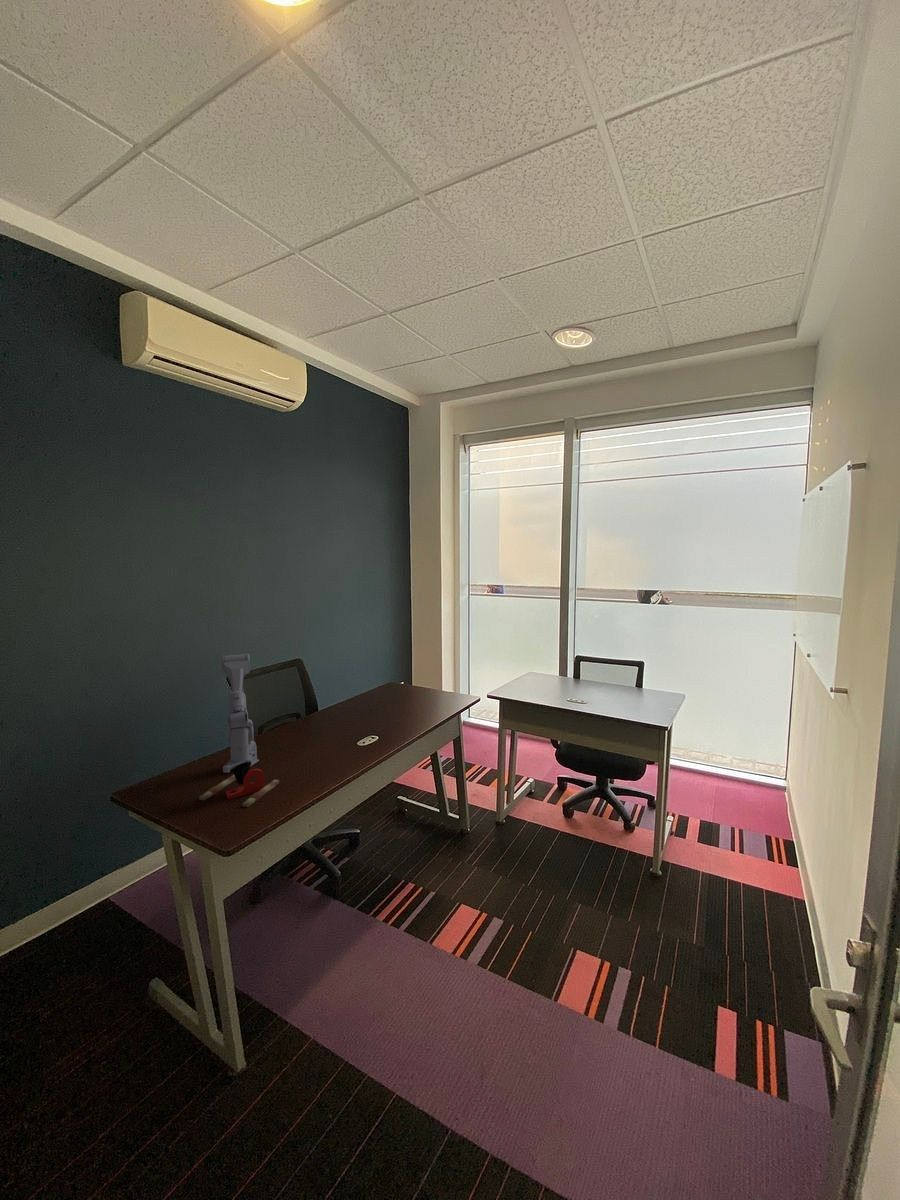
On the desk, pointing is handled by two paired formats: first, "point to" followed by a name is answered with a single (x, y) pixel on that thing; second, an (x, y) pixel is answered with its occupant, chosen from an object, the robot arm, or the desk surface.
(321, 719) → the desk surface
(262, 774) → the bracket
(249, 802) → the guide track
